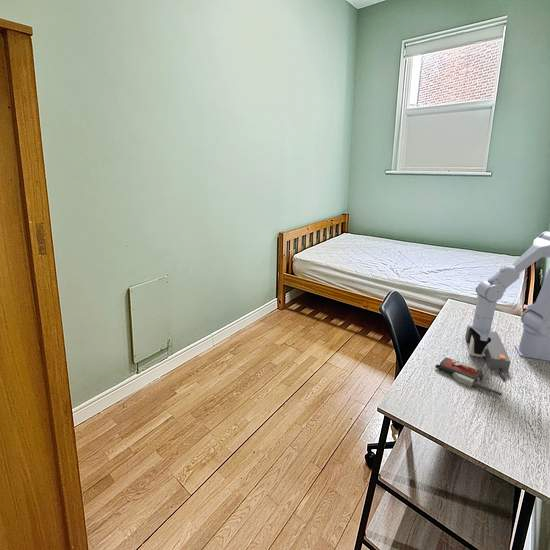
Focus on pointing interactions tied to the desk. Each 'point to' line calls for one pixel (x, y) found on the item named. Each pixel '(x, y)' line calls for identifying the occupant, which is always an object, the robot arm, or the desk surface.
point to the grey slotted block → (494, 353)
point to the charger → (471, 349)
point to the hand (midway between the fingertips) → (476, 349)
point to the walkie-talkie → (463, 373)
